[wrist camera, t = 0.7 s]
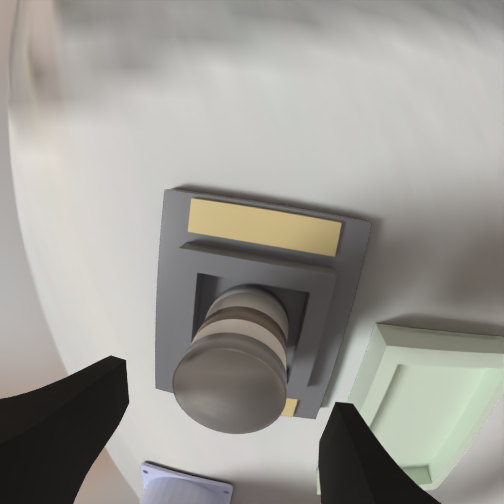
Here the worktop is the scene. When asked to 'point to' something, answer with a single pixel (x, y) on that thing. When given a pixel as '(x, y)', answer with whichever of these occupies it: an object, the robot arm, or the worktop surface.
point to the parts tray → (427, 395)
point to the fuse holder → (258, 279)
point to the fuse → (236, 363)
